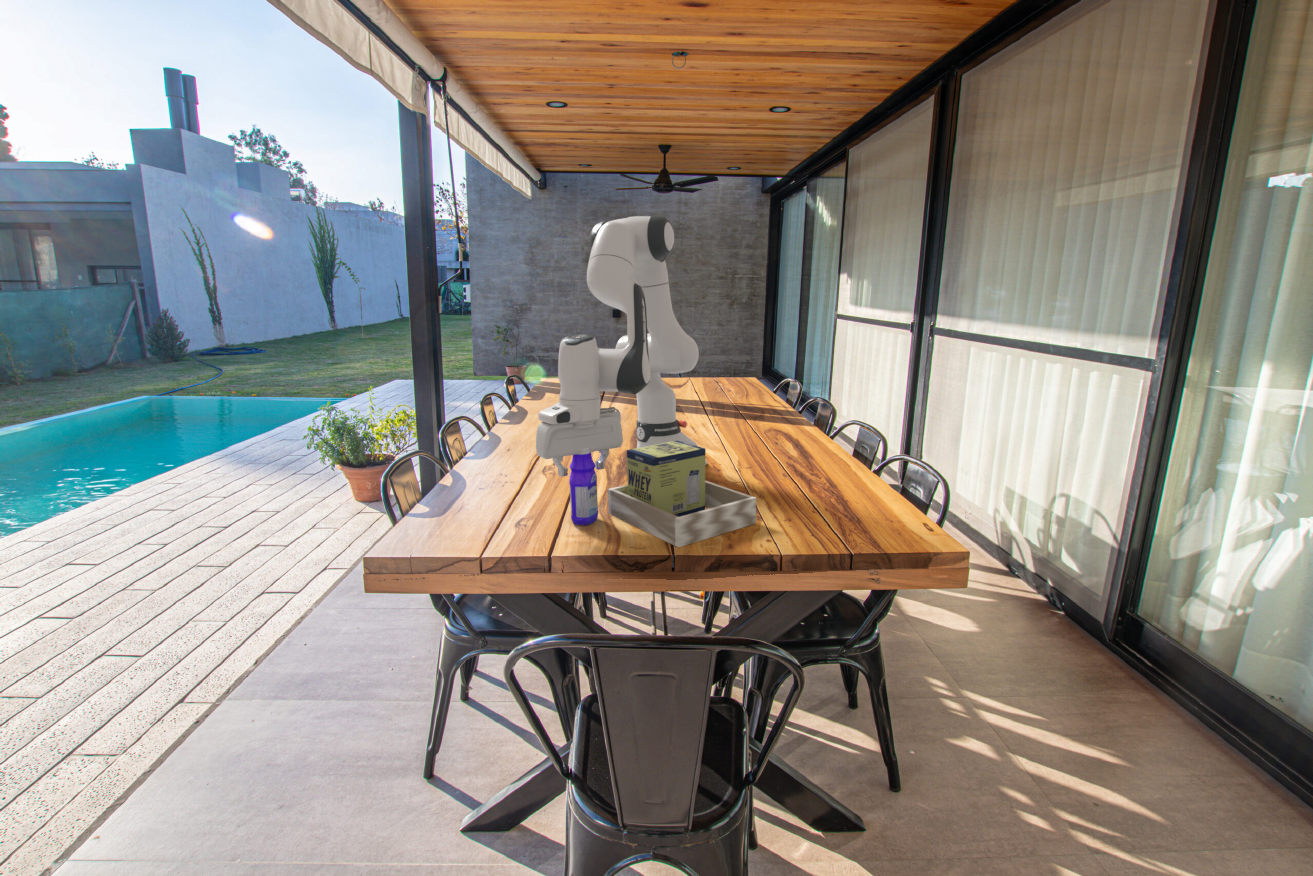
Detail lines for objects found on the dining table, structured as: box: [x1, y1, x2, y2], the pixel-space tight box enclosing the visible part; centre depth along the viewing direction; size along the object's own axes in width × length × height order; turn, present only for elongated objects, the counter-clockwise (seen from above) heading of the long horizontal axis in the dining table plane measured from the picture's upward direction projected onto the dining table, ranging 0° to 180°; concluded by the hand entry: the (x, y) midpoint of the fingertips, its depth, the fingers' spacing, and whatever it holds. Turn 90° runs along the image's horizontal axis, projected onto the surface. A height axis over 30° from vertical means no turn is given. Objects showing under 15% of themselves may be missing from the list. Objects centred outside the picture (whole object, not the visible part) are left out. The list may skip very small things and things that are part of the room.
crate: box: [607, 480, 757, 548], centre depth 145 cm, size 22×26×6 cm
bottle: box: [568, 448, 599, 526], centre depth 142 cm, size 7×6×17 cm
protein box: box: [626, 441, 706, 517], centre depth 148 cm, size 10×16×16 cm
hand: (581, 472), depth 142 cm, fingers open, 8 cm apart
